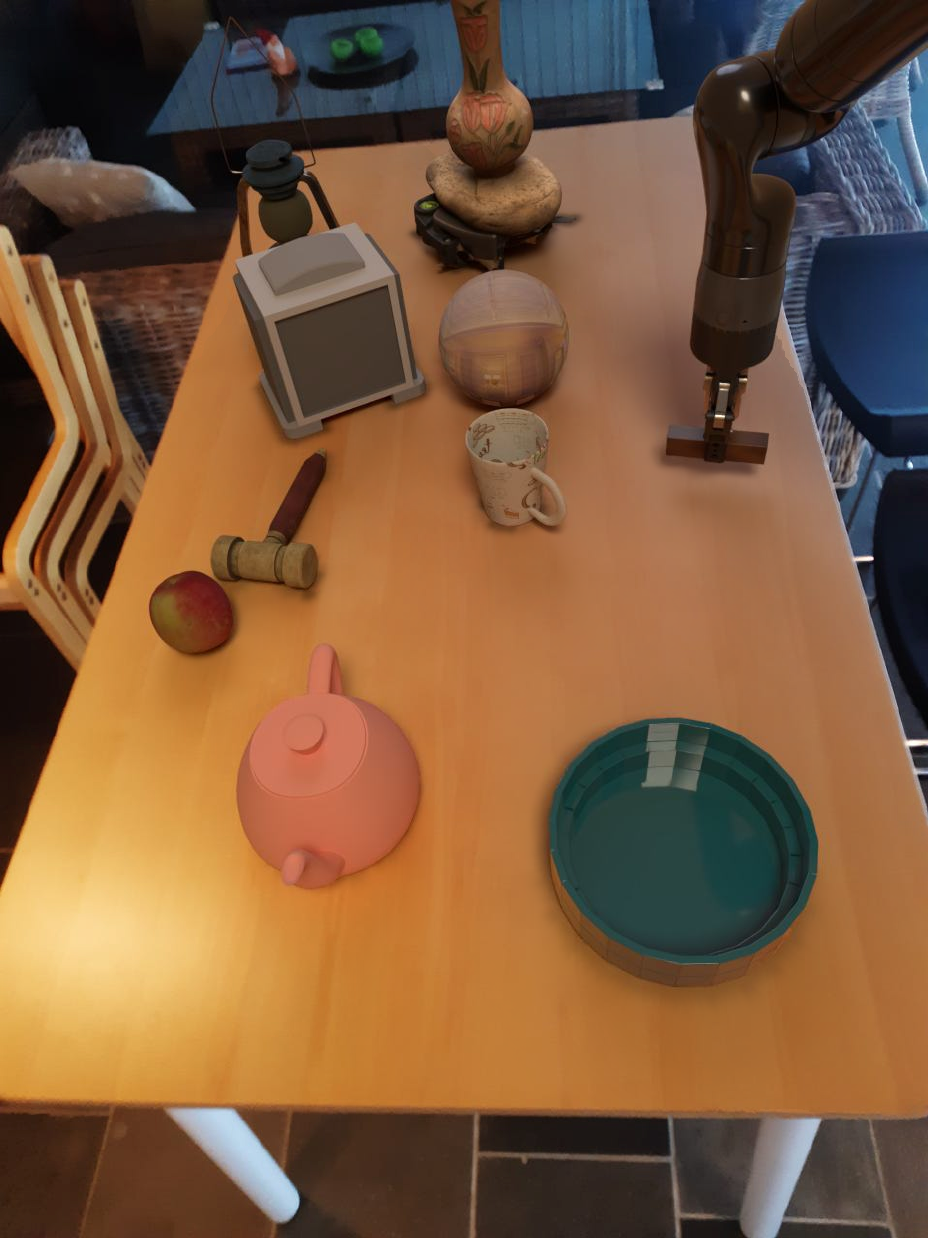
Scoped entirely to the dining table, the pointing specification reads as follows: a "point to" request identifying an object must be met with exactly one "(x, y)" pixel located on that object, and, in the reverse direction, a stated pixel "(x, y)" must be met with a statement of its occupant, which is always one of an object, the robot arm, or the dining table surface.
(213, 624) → the apple
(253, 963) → the dining table surface
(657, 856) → the bowl
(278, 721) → the teapot
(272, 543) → the gavel
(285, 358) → the alarm clock
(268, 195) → the lantern
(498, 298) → the ornament
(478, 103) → the vase
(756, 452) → the stick
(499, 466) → the mug
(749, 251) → the robot arm
